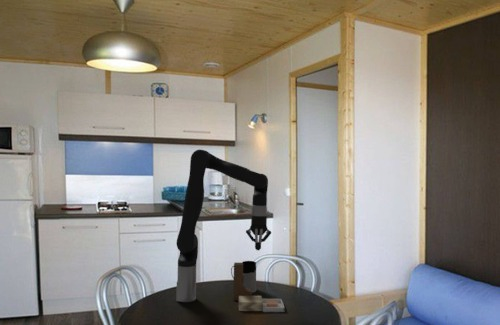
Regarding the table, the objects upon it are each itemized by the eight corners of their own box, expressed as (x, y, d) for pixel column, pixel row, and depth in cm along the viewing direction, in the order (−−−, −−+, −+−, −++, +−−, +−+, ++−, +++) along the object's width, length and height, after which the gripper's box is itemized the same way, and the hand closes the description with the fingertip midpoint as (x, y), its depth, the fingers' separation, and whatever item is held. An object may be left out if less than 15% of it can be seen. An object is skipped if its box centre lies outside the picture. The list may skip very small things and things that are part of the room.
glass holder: (258, 292, 204) (258, 264, 204) (232, 293, 201) (232, 265, 201) (254, 287, 213) (255, 260, 213) (229, 288, 210) (229, 261, 210)
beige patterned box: (238, 310, 177) (239, 302, 177) (238, 304, 186) (238, 295, 186) (262, 310, 178) (262, 302, 178) (261, 304, 187) (261, 295, 187)
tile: (277, 304, 180) (277, 308, 180) (276, 300, 185) (276, 304, 185) (267, 304, 180) (267, 308, 180) (266, 300, 185) (266, 304, 185)
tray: (262, 312, 176) (263, 307, 176) (261, 302, 188) (261, 298, 188) (284, 312, 177) (284, 307, 177) (281, 302, 189) (281, 298, 189)
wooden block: (251, 298, 195) (252, 262, 195) (251, 301, 191) (251, 264, 191) (233, 297, 195) (234, 262, 196) (233, 300, 191) (233, 264, 191)
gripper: (245, 215, 184) (244, 251, 183) (273, 215, 184) (272, 252, 184) (245, 213, 191) (244, 248, 191) (272, 214, 192) (270, 248, 191)
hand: (257, 250), depth 187 cm, fingers closed
